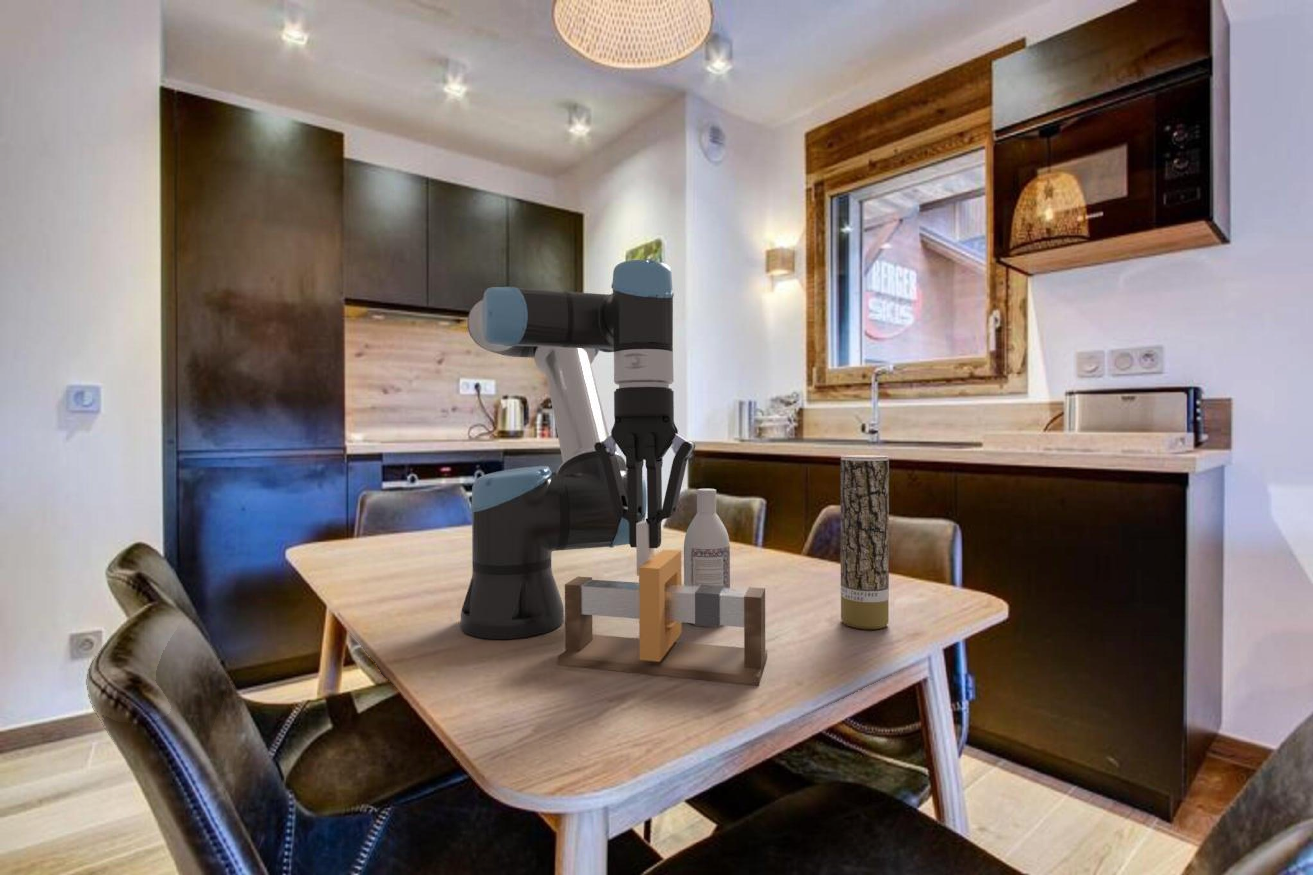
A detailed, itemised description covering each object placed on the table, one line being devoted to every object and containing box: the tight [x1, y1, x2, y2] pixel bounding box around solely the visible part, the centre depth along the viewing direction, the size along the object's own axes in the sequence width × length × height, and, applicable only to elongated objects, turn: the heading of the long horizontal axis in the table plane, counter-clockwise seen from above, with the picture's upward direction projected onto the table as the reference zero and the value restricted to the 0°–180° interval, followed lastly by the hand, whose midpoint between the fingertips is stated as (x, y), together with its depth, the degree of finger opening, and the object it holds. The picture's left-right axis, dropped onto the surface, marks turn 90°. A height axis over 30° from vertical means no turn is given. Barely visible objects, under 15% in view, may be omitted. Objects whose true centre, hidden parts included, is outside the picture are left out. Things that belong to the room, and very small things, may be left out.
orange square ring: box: [638, 549, 683, 662], centre depth 81 cm, size 2×11×11 cm, turn 164°
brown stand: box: [557, 576, 768, 686], centre depth 81 cm, size 25×9×10 cm, turn 74°
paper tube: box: [840, 454, 890, 631], centre depth 95 cm, size 7×7×25 cm
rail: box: [580, 579, 748, 628], centre depth 81 cm, size 22×4×4 cm, turn 74°
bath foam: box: [683, 488, 731, 626], centre depth 98 cm, size 7×7×20 cm
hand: (645, 573), depth 81 cm, fingers closed
